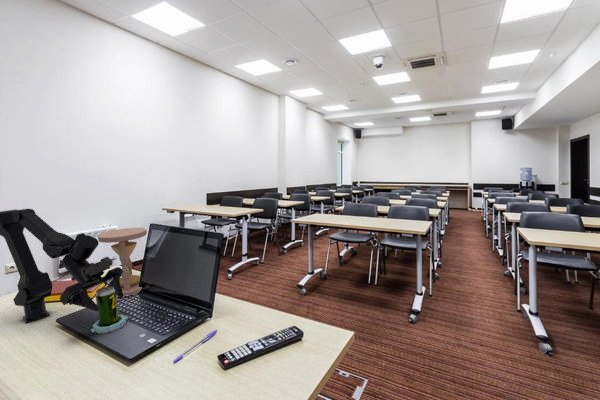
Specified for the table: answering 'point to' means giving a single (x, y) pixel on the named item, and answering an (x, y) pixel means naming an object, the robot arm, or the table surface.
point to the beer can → (107, 306)
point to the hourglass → (125, 255)
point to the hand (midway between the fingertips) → (110, 303)
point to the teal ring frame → (110, 328)
